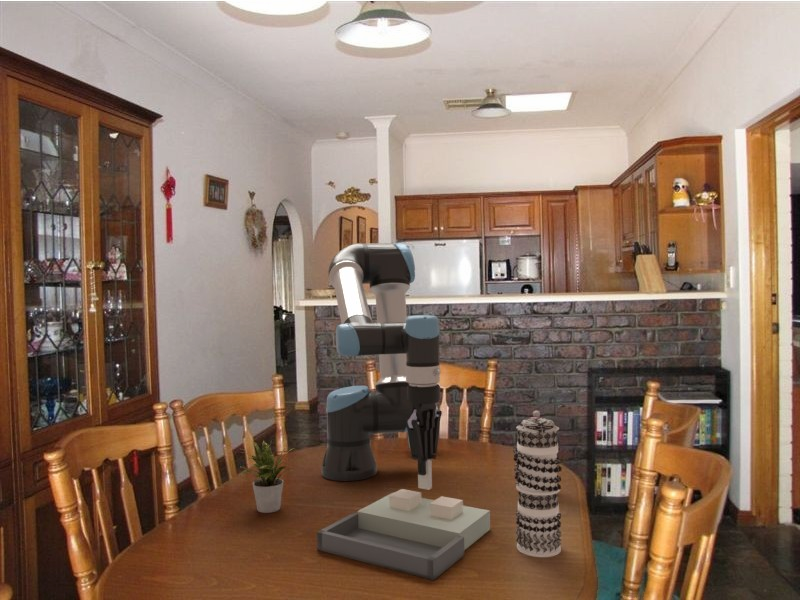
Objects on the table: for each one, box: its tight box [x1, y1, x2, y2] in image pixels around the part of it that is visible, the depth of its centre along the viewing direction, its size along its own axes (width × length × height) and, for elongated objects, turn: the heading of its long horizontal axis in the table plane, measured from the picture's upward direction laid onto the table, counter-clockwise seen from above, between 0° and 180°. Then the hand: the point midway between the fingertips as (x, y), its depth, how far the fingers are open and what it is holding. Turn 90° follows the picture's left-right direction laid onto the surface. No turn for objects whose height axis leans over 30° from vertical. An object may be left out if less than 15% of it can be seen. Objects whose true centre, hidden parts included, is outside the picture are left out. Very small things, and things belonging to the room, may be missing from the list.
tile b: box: [430, 495, 464, 520], centre depth 133 cm, size 5×5×2 cm
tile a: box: [388, 488, 422, 511], centre depth 139 cm, size 5×5×2 cm
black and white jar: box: [512, 416, 563, 558], centre depth 125 cm, size 9×9×25 cm
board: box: [356, 491, 491, 551], centre depth 135 cm, size 24×14×4 cm, turn 58°
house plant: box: [240, 439, 295, 514], centre depth 150 cm, size 14×14×16 cm
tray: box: [316, 512, 465, 581], centre depth 124 cm, size 26×12×4 cm, turn 58°
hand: (425, 487), depth 146 cm, fingers closed
